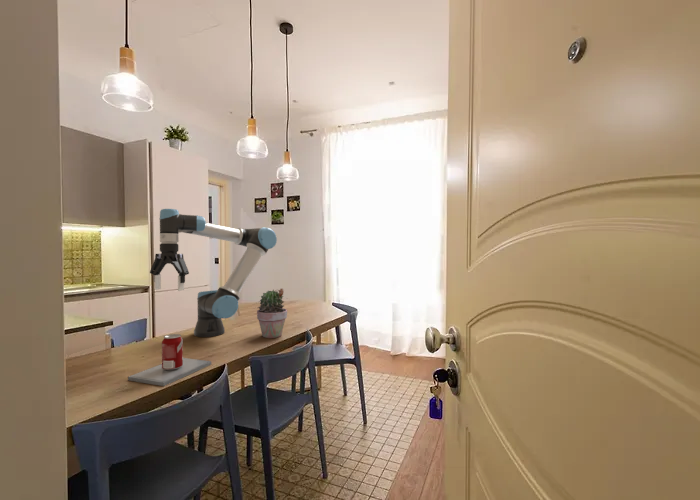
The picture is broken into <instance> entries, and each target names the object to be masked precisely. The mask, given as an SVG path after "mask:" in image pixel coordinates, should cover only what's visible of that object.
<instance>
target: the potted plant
mask: <svg viewBox="0 0 700 500" xmlns="http://www.w3.org/2000/svg"><path fill="white" fill-rule="evenodd" d="M284 291H285V290H284V288H280V289H279V290H278V289H276V290H274V289H272V290H267V291H266V292H263V293H262V295H261V296H260V297H261V298H260V300H259V301H258V303H259V304H260V305H259V306H258V307H255V308H253V309H258V310H256V318H257V320H258V323H259V328H260V331H261V336H262V337H263V338H266V339H274V338H279V337H281V336H282V335H283V330H284V325H285V323H286V319H287V318H288V310H287V309H288V308H284V307H285V304H284V303H285V301H284V300H283V297H284ZM286 299H289V298H287V297H286ZM255 304H257V302H255V303H254V305H255Z"/></svg>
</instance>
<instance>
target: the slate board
mask: <svg viewBox="0 0 700 500" xmlns="http://www.w3.org/2000/svg"><path fill="white" fill-rule="evenodd" d="M211 365H212V361H211V360H203V359H202V360H201V359H196V358H195V359H194V358H189V357H188V358H186V357H183V365H182V367H180V368H179V369H177V370H172V371H166V370H164V369H162V363H160V364H158V365H155V366H153V367H150V368H148V369H144V370H142V371H139V372H137V373H134V374H132V375H129V376H128V377H127V381H131V382H136V383H142V384H147V385H148V384H149V385H154V386H155V385H156V386H161V387H166V386H168V385H170V384H172V383H174V382H176V380H177V381H178V379H179V380H180V379H183V378H184V377H187V376H189V375H192V374H193V373H196V372H198V371H200V370H202V369H205V368H207V367H209V366H211ZM169 383H170V384H169ZM167 384H168V385H167ZM165 385H166V386H165Z"/></svg>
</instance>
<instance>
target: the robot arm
mask: <svg viewBox="0 0 700 500" xmlns="http://www.w3.org/2000/svg"><path fill="white" fill-rule="evenodd" d="M180 233H184V234H190V235H194V236H195V235H196V236H199V237H200V236H201V237H205V238H211V239H217V240H221V241H226V242H233V243H234V244H235V245H238V246H242V247H245V248H246V247H247V248H246V249H245V252H244V253H243V255H242V256H241V258H240V259H239V261H238V263H237V264H236V266H235V267H234V269H233V271H232V272H231V274H230V275H229V277H228V279H227V280H226V282H225V283H224V285H223V286H220V287H218V289H217V290H204V291H199V292H198V293H197V298H196V299H197V321H196V324H195V327H194V330H193V336H195V337H198V338H209V337H216V336H221V335H223V334H225V333H226V331H225V326H224V323H223V320H222V319H229V318H231V317H233V316H234V315H235V314H236V313H237V311H238V309H239V300H240V298H241V297H240V294H241V291H242V289H243V287H244V286H245V284H246V283H247V281H248V279H249V278H250V276H251V274H252V273H253V271H254V269H255V267H256V266H257V264H258V263H259V262H260V259H261V257H263V256H266V255H267V253H268V251H269V250H270V249H273V248H274V247H276V244H277V241H278V238H277V235H276V232H275V231H274V230H273V229H272V228H270V227H258V228H241V227H238V228H233V227H229V226H226V225H225V226H224V225H219V224H214V223H210V222H207V221H206V219H205V217H204V216H201V215H191V214H181V213H179V210H178V209H175V208H161V210H160V211H159V242H160V243H159V252H160V253H155V255H154V260H153V262H152V265H151V268H150V271H149V274H151V275H152V276H153V283H154V290H161V289H162V286H161V284H162V275H161V273H162V271H163V270H164V268H165V266H166V265H167V264H170V265H172V266H173V267H174V269H175V270H176V272H177V274H178V276H177V291H179V292H180V291H185V284H186V283H185V282H186V276H187V275H189V274H190V272H189V269H188V267H187V264H186V261H185V259H184V253H179V241H180V240H179V235H180Z"/></svg>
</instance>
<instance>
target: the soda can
mask: <svg viewBox="0 0 700 500" xmlns="http://www.w3.org/2000/svg"><path fill="white" fill-rule="evenodd" d="M183 342H184V340H183V337H182V335H181V334H179V333H172V334H171V333H170V334H166V335H164V336H163V339H162V341H161V364H162V369H164V370H166V371H172V370H177V369H179V368H180V367H182V365H183V358H184V357H183V353H184V352H183V350H184V348H183V345H184V344H183Z"/></svg>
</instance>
